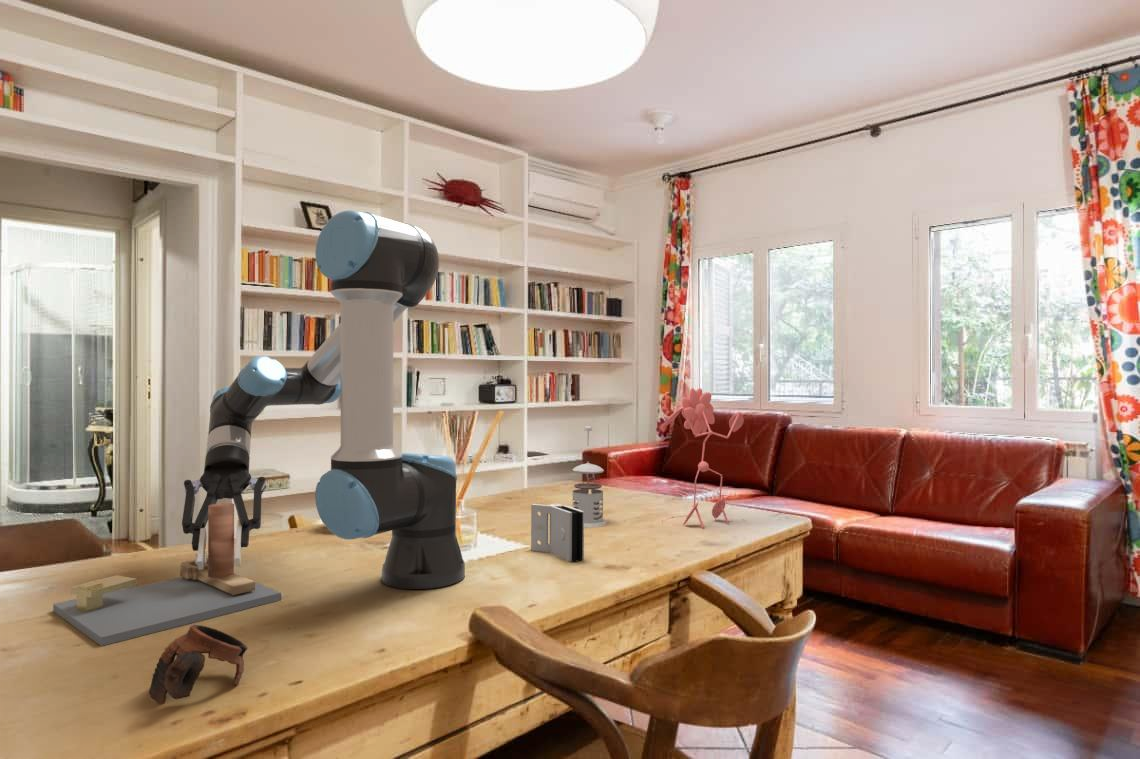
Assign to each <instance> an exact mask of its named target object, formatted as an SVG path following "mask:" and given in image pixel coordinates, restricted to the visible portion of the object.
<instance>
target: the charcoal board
mask: <svg viewBox="0 0 1140 759" xmlns="http://www.w3.org/2000/svg"><path fill="white" fill-rule="evenodd" d="M281 600H282V592H280V591H278V590H276V589H273V588H270V587H268V586H265V585H263V584H260V583H257V582H255V590H253V591H249V592H244V593H240V594H236V595H232V594H230V593H228V592H225V591H223V590H221V589H218V588H216V587H214V586H212V585H209V584H207V583H205V582H202V581H200V580H198V579H197V580H194V579H192V578H191V579H186V578H184V577H181V576H180V577H176V578H172V579H167V580H163V581H161V580H160V581H157V582H151V583H148V584H147V583H146V584H143V585H142V584H141V585H138V586H137V585H136V586H132V587H128V588H124V589H121V590H117V591H113V592H110V593H106V594H103V607H102V608H98V609H95V610H92V611H88V612H84V611H80V610H77V598H75V599H69V600H65V601H60V602H59V601H58V602H55V603H53V604H52V610H53V611H52V612H53V613H54V614H56V615H58V617H60V616H61V617H60V618H61V619H65V620H64V621H66V622H67V621H68V624H70V625H71V626H73V627H74V628H75V629H77V630H79V632H81V633H82V634H83V635H85V636H87V637H88V638H90V639H91V640H92V641H93V642H95V643H96V644H98V645H99V646H101V647H103V646H107V645H111V644H112V645H113V644H115V643H118V642H122V641H123V642H124V641H127V640H130V639H134V638H138V637H142V636H146V635H150V634H153V633H157V632H161V631H165V630H170V629H173V628H176V627H182V626H184V625H185V626H186V625H189V624H193V623H196V622H200V621H204V620H209V619H212V618H216V617H220V616H223V615H228V614H231V613H232V614H233V613H235V612H239V611H243V610H246V609H251V608H255V607H258V606H262V605H263V606H264V605H267V604H271V603H276V602H278V601H281Z"/></svg>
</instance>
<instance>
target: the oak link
mask: <svg viewBox="0 0 1140 759" xmlns="http://www.w3.org/2000/svg"><path fill="white" fill-rule="evenodd" d="M207 526H208V528H207V534H208V536H207V546H208V547H207V564H204V569H203V570H198V566H195V559H194V560H187V561H184V562H180V565H179V569H180V574H179V575H180V577H184V578H186V579H191V578H192V579H194V580H197V579H198V580H200V581H202V582H205V583H207V584H209V585H212V586H214V587H216V588H218V589H221V590H223V591H225V592H228V593H230V594H232V595H236V594H240V593H244V592H249V591H253V590H255V583H256V581H255V580H252V579H250V578H247V577H245V576H242V575H239V574H237V573H235V504H234V503H230V502H219V503H216V504H212V505H209V506H208V521H207Z"/></svg>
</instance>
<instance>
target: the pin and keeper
mask: <svg viewBox="0 0 1140 759" xmlns="http://www.w3.org/2000/svg"><path fill="white" fill-rule="evenodd" d="M197 556H198V553H196V554H195V556H194V558H195V559H194V560H195V566H198V565H197ZM207 558H208V552H205V559H204V564H207ZM137 583H138V581H137V578H133V577H129V576H123V575H120V574H119V575H118V574H116V575H112V576H108V577H104V578H99V579H97V580H91V581H88V582H84V583H79V584H77V585H73V586H71V587H70V593H71V594H72V595H76V599H77V610H80V611H84V612H88V611H92V610H95V609H98V608H102V607H103V594H106V593H110V592H113V591H117V590H122V589H127V588H132V587H136V586H137Z"/></svg>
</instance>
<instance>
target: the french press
mask: <svg viewBox="0 0 1140 759" xmlns="http://www.w3.org/2000/svg"><path fill="white" fill-rule="evenodd" d="M592 428H593V427H591V426H590V425H586V426H585V427H584V431H586V432H587V445H589V436H590V435H589V434H590V431H593V430H592ZM571 471H573V472H574V473H575V474H583V475H586V478H587V479H586V480H587V482H583V483H582V482H581V483H576V484H573V486H574V488H575V490H572V508H576V509H579V510H582V511H584V528H599V527H603V526H606V525H607V524H608V523H607V522H606V520H605V519H604V491H603V490H601V488H603V486H602V484H600V483H596V479H595V474H601V473H604V472H605V470H604V468H602V467H601V466H599V465H597V464H593V463H590V462H586V463H582V464H579V465H577V466H575V467H573V469H572V470H571ZM589 474H590V475H592V477H589ZM591 479H593V483H590V480H591ZM589 491H591V492H590V493H589Z"/></svg>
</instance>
